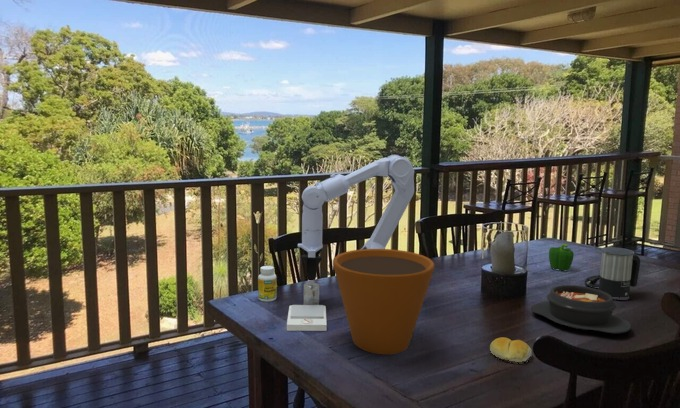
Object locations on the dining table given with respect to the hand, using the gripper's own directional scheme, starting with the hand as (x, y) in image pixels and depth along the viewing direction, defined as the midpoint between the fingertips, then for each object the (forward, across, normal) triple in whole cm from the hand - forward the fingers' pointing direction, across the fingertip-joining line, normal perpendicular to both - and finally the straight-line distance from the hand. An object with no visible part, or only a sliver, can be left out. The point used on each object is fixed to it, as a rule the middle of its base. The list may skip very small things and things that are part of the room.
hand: (311, 275), depth 150 cm
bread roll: (+9, +33, +46) cm, 57 cm away
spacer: (+9, 0, 0) cm, 9 cm away
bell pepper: (+8, -39, +91) cm, 99 cm away
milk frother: (+9, -13, +94) cm, 95 cm away
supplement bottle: (+9, -5, -13) cm, 16 cm away
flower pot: (+9, +25, +17) cm, 32 cm away
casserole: (+9, +13, +72) cm, 74 cm away
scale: (+9, +12, -1) cm, 15 cm away
